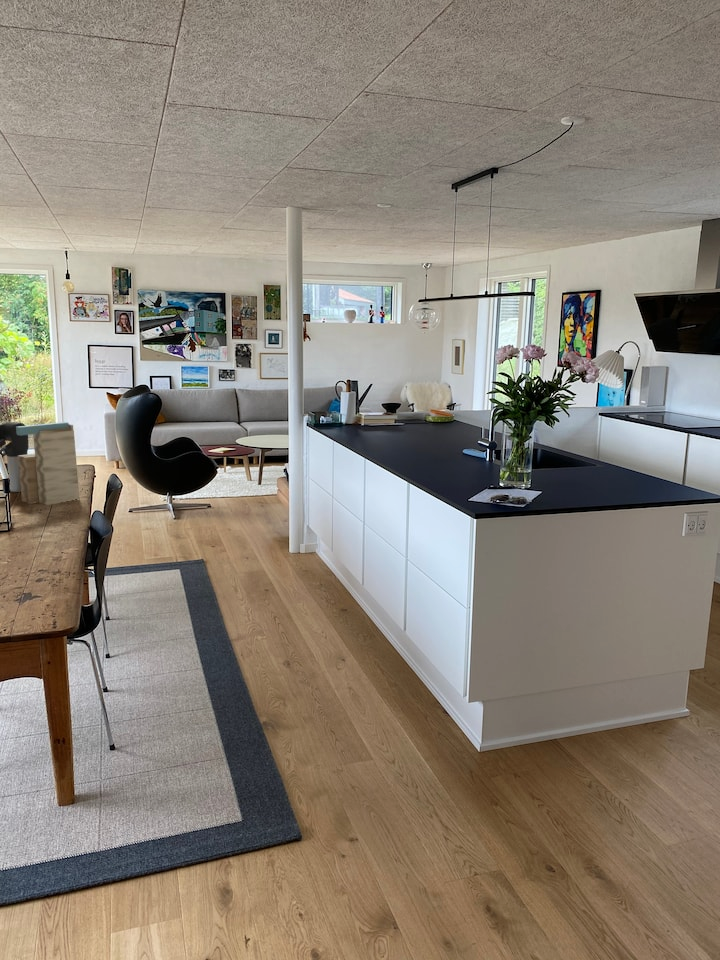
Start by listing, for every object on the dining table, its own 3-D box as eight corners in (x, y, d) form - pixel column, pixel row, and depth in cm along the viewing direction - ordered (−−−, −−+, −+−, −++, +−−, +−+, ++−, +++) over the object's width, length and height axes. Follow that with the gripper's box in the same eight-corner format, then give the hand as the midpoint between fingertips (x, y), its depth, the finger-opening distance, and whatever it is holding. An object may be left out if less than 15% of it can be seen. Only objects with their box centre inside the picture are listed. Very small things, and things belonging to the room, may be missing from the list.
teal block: (16, 434, 318) (15, 426, 318) (65, 429, 334) (64, 422, 334) (20, 435, 316) (19, 427, 315) (69, 430, 332) (68, 422, 331)
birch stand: (39, 502, 332) (32, 426, 325) (70, 496, 343) (64, 423, 336) (47, 505, 327) (40, 428, 320) (79, 499, 338) (73, 425, 331)
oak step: (22, 500, 335) (17, 455, 331) (51, 495, 345) (47, 451, 341) (30, 503, 330) (25, 457, 326) (60, 498, 340) (56, 453, 336)
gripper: (-22, 460, 299) (11, 436, 308) (-36, 456, 308) (-4, 433, 317) (-11, 474, 303) (21, 450, 312) (-25, 470, 313) (7, 447, 321)
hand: (9, 442), depth 315 cm, fingers open, 8 cm apart
